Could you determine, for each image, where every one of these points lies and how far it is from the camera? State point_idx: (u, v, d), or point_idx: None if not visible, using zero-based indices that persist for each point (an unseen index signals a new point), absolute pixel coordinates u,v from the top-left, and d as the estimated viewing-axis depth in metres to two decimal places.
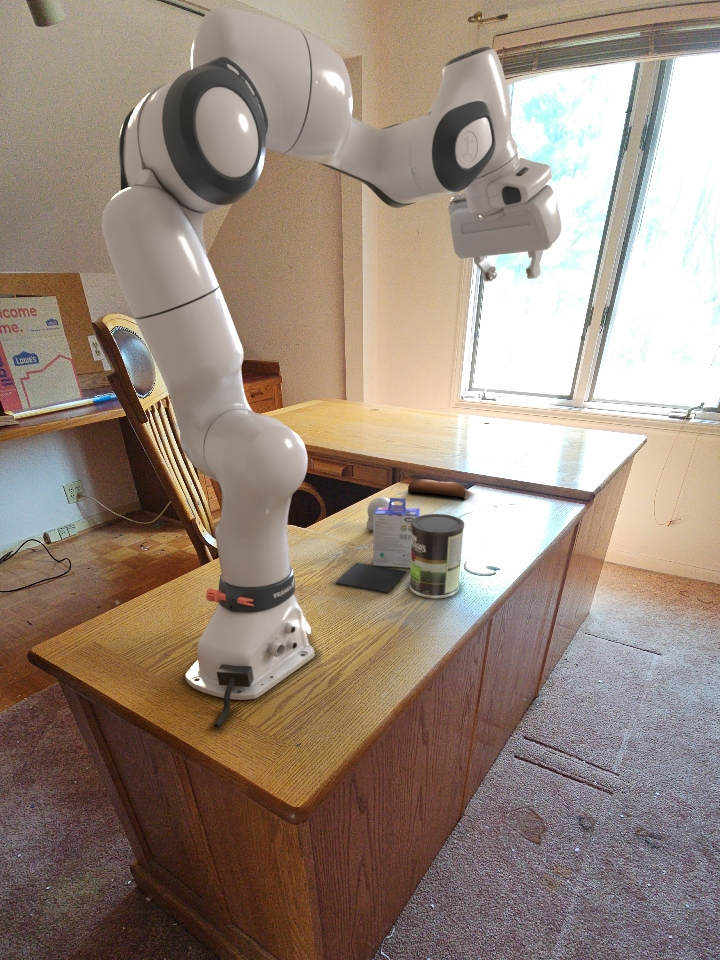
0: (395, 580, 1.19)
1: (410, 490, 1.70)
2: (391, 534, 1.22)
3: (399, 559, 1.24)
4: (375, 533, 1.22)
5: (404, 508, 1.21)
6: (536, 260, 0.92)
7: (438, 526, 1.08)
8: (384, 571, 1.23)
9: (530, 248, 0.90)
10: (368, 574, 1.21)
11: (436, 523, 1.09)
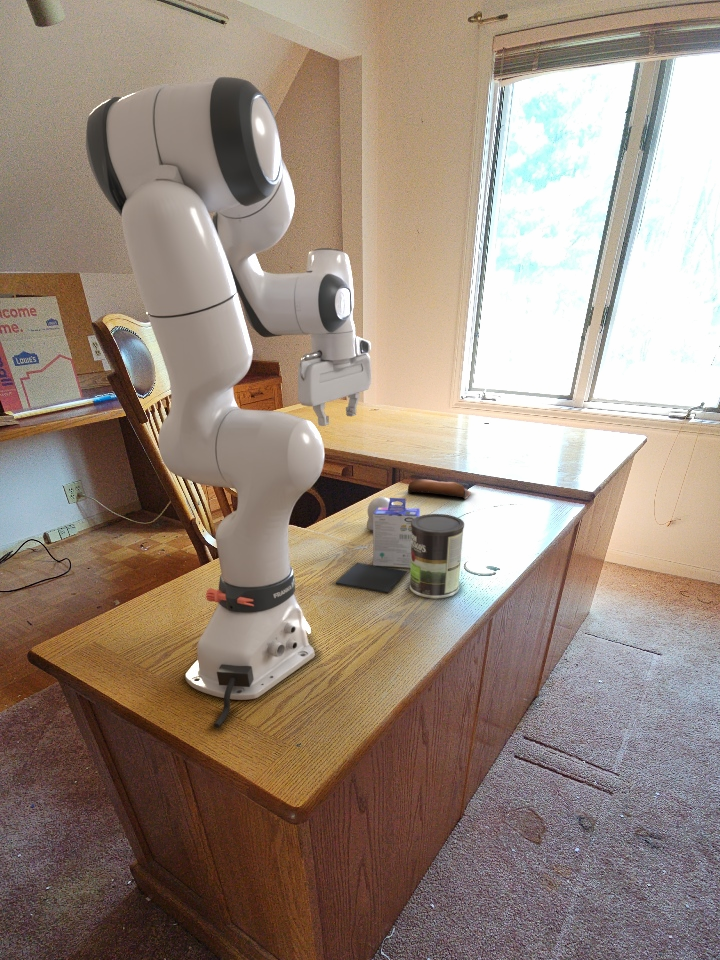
0: (395, 580, 1.19)
1: (410, 490, 1.70)
2: (391, 534, 1.22)
3: (399, 559, 1.24)
4: (375, 533, 1.22)
5: (404, 508, 1.21)
6: None
7: (438, 526, 1.08)
8: (384, 571, 1.23)
9: (361, 389, 1.20)
10: (368, 574, 1.21)
11: (436, 523, 1.09)
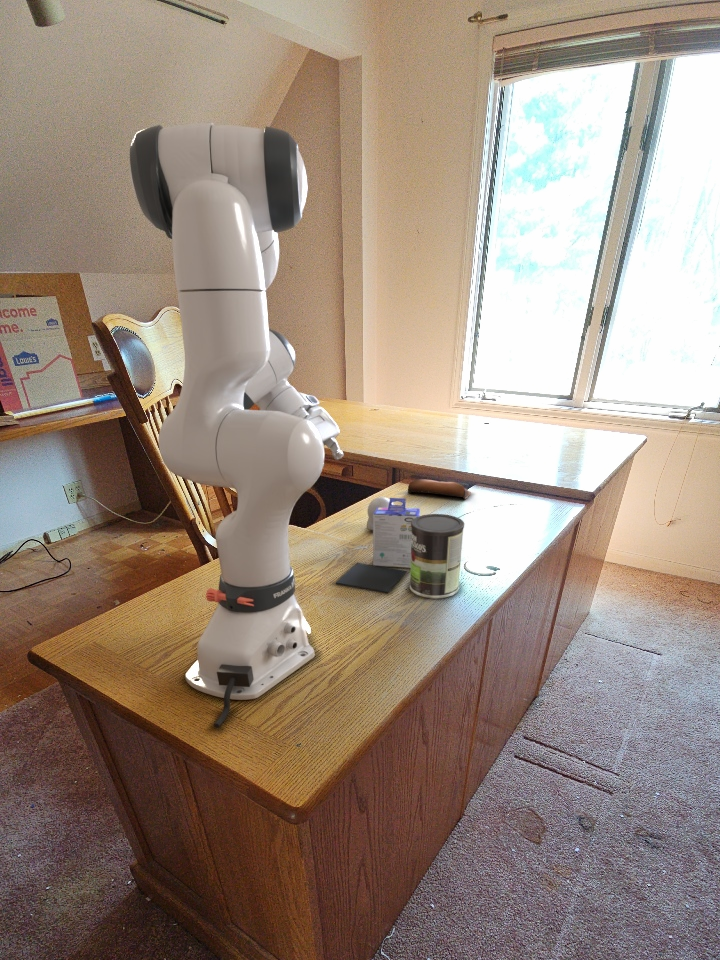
0: (395, 580, 1.19)
1: (410, 490, 1.70)
2: (391, 534, 1.22)
3: (399, 559, 1.24)
4: (375, 533, 1.22)
5: (404, 508, 1.21)
6: None
7: (438, 526, 1.08)
8: (384, 571, 1.23)
9: (333, 432, 1.25)
10: (368, 574, 1.21)
11: (436, 523, 1.09)
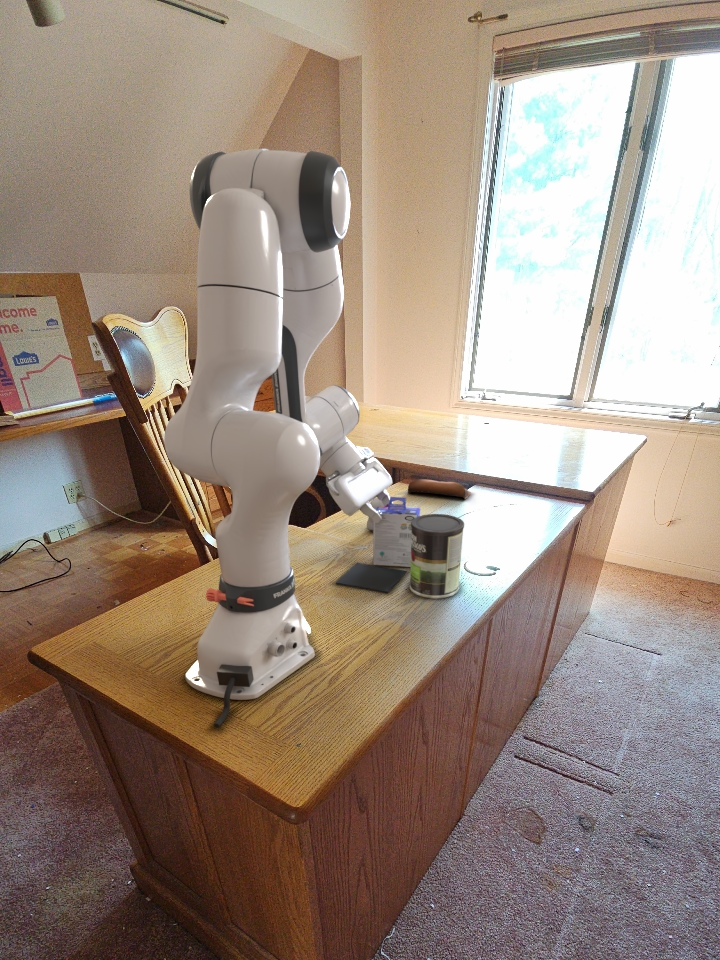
0: (395, 580, 1.19)
1: (410, 490, 1.70)
2: (391, 532, 1.22)
3: (399, 558, 1.24)
4: (375, 532, 1.22)
5: (404, 507, 1.21)
6: None
7: (438, 526, 1.08)
8: (384, 571, 1.23)
9: (387, 484, 1.26)
10: (368, 574, 1.21)
11: (436, 523, 1.09)
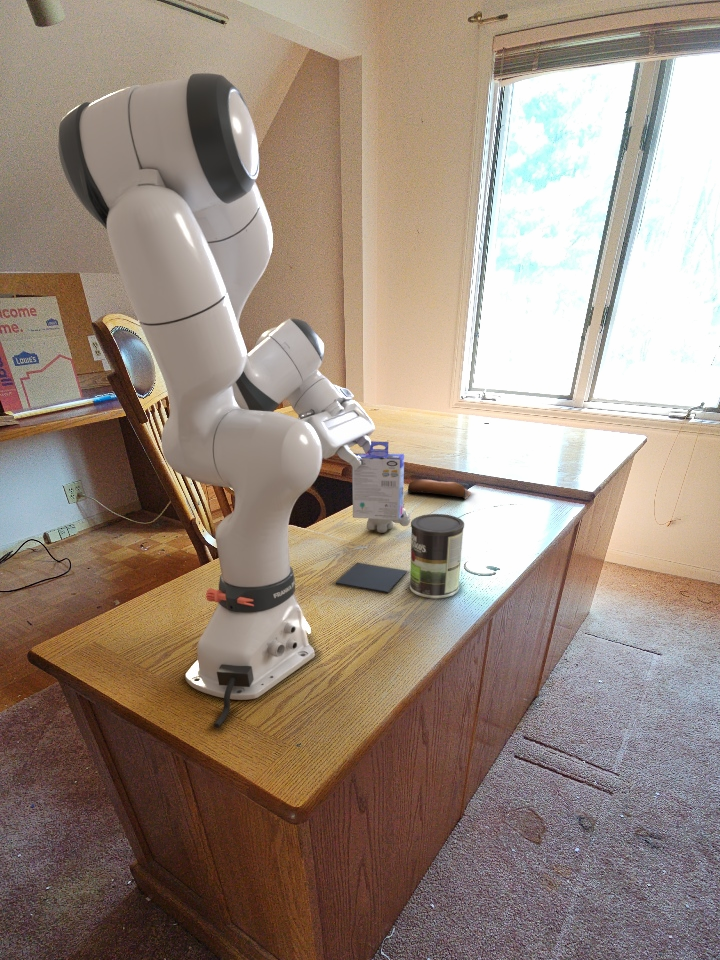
0: (395, 580, 1.19)
1: (410, 490, 1.70)
2: (372, 480, 1.10)
3: (381, 510, 1.12)
4: (354, 480, 1.11)
5: (387, 453, 1.10)
6: None
7: (438, 526, 1.08)
8: (384, 571, 1.23)
9: (368, 429, 1.14)
10: (368, 574, 1.21)
11: (436, 523, 1.09)
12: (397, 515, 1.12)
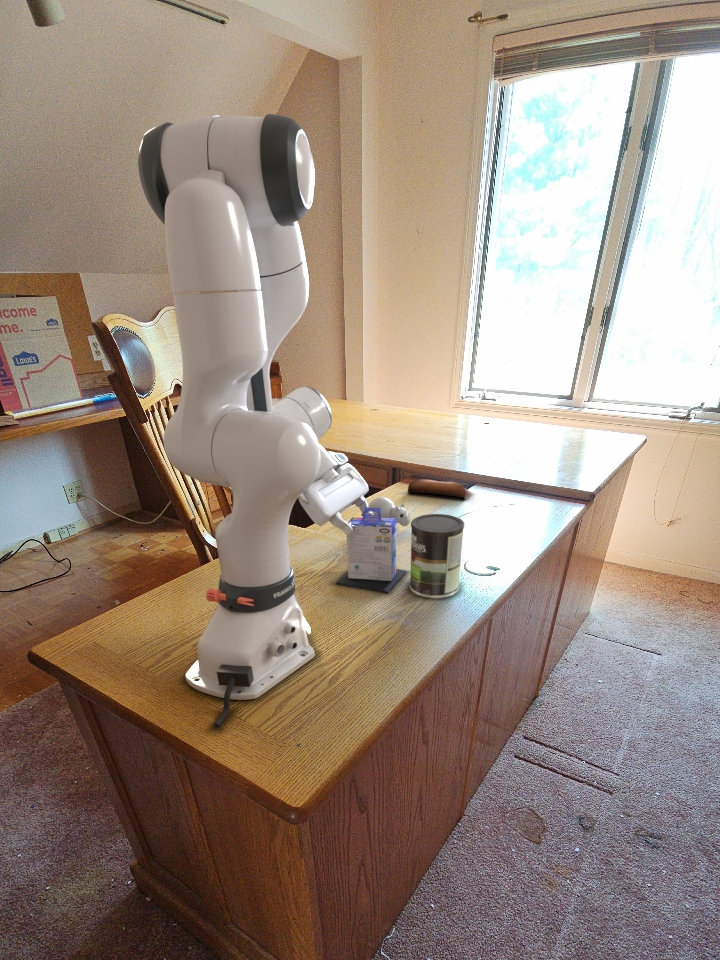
0: (395, 580, 1.19)
1: (410, 490, 1.70)
2: (366, 545, 1.15)
3: (375, 572, 1.18)
4: (349, 545, 1.16)
5: (380, 519, 1.15)
6: None
7: (438, 526, 1.08)
8: None
9: (362, 491, 1.19)
10: None
11: (436, 523, 1.09)
12: (390, 577, 1.17)
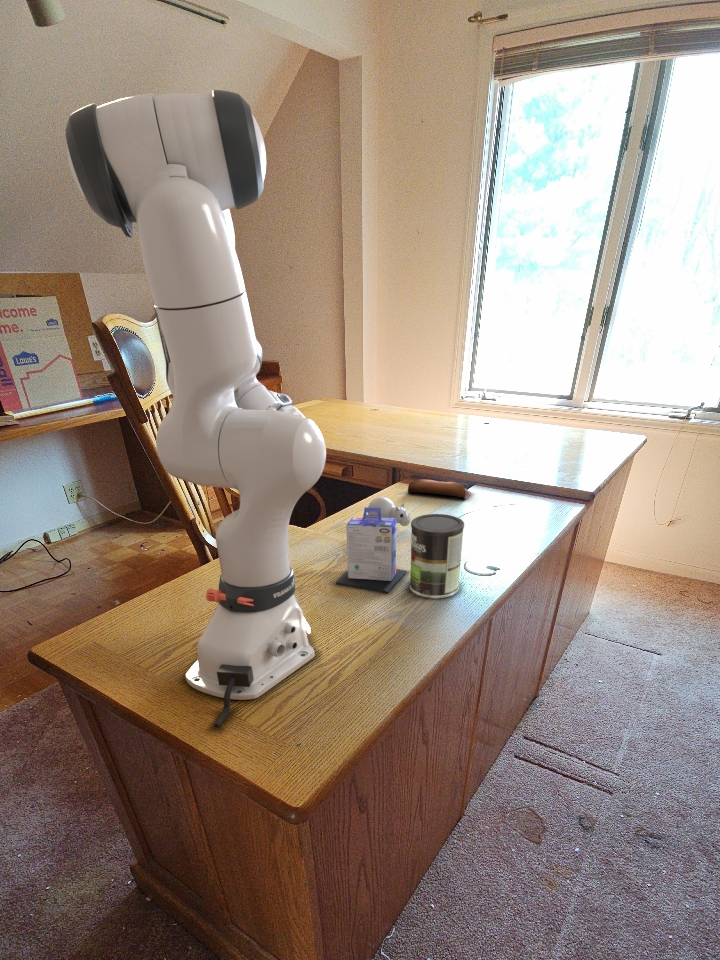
0: (395, 580, 1.19)
1: (410, 490, 1.70)
2: (366, 545, 1.15)
3: (375, 572, 1.18)
4: (349, 545, 1.16)
5: (380, 519, 1.15)
6: None
7: (438, 526, 1.08)
8: None
9: None
10: None
11: (436, 523, 1.09)
12: (390, 577, 1.17)
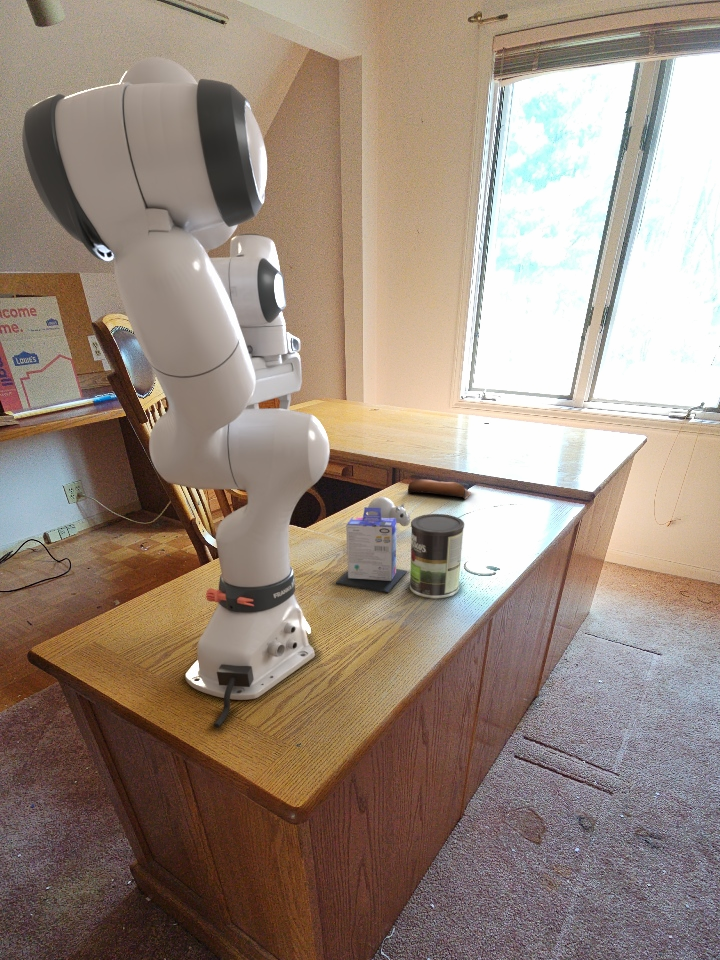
0: (395, 580, 1.19)
1: (410, 490, 1.70)
2: (366, 545, 1.15)
3: (375, 572, 1.18)
4: (349, 545, 1.16)
5: (380, 519, 1.15)
6: None
7: (438, 526, 1.08)
8: None
9: (293, 390, 1.12)
10: None
11: (436, 523, 1.09)
12: (390, 577, 1.17)
